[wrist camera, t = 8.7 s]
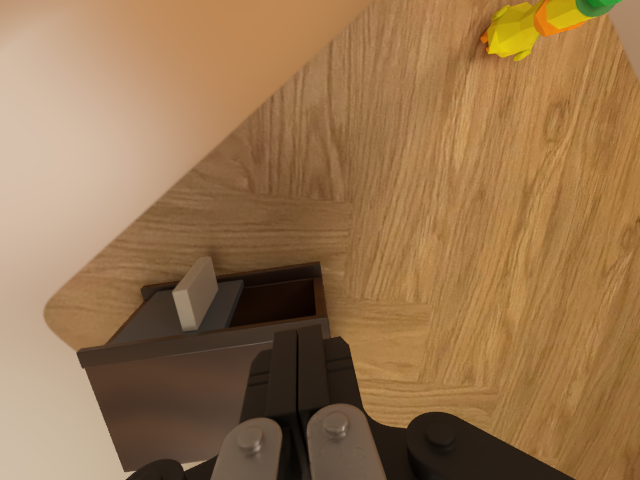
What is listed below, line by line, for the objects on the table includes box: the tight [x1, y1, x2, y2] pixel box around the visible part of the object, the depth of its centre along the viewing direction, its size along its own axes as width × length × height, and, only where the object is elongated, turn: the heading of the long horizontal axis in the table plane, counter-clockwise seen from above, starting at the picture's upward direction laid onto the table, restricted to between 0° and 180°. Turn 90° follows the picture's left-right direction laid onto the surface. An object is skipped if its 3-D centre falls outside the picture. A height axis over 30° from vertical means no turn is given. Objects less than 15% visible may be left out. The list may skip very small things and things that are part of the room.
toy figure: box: [480, 0, 621, 61], centre depth 22 cm, size 7×4×12 cm, turn 128°
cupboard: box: [77, 262, 331, 472], centre depth 29 cm, size 10×16×10 cm, turn 97°
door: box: [111, 256, 244, 344], centre depth 27 cm, size 4×8×8 cm, turn 98°
